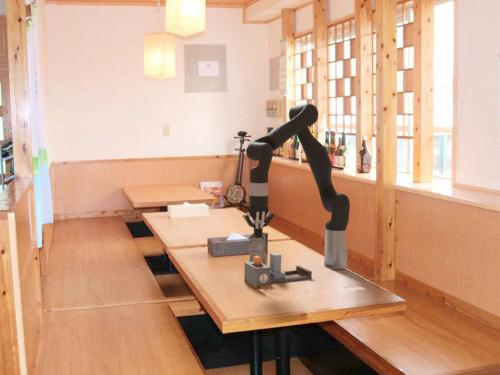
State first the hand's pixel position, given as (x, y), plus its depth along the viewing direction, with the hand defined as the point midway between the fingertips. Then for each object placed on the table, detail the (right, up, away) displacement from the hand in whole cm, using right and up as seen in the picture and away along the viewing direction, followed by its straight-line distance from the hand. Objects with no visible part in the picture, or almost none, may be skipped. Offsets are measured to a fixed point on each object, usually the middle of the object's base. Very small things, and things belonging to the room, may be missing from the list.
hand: (257, 237), depth 254 cm
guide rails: (+10, -17, +7) cm, 21 cm away
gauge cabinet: (0, -17, +2) cm, 18 cm away
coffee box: (+1, -16, +24) cm, 29 cm away
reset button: (0, -11, +1) cm, 11 cm away
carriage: (+7, -17, +6) cm, 19 cm away
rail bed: (+8, -18, +6) cm, 21 cm away
